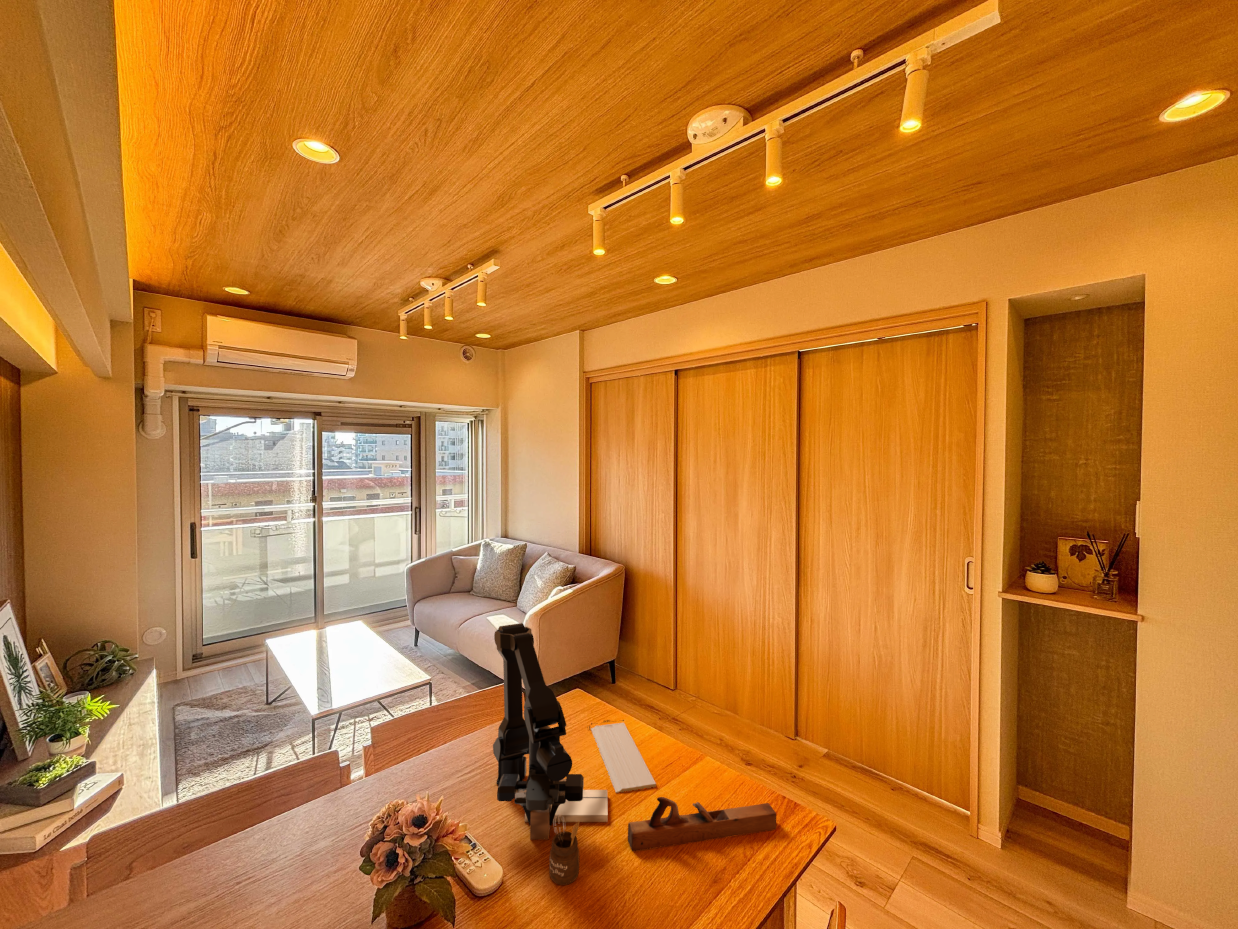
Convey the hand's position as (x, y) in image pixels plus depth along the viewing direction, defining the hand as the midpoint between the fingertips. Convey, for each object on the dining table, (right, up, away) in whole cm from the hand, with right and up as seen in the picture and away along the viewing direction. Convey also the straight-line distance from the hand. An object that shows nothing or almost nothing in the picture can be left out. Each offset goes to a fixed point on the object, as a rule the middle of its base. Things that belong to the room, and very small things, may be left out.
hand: (540, 824), depth 117 cm
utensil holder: (+7, -2, -12) cm, 14 cm away
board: (+5, -2, +8) cm, 9 cm away
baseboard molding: (+17, -2, +30) cm, 35 cm away
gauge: (0, -1, +4) cm, 4 cm away
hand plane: (+36, -3, 0) cm, 36 cm away
